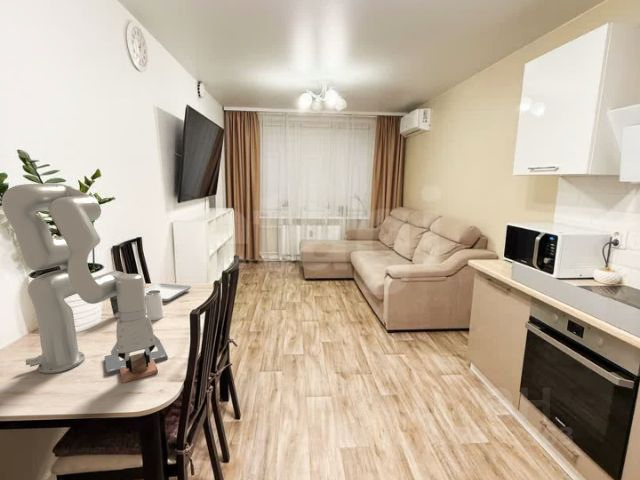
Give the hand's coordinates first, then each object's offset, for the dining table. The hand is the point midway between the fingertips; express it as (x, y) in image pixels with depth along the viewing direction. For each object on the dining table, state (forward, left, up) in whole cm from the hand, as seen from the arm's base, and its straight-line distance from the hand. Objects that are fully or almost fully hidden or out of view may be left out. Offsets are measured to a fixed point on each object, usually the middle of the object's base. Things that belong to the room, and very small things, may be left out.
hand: (138, 367), depth 111 cm
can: (+13, +45, -2) cm, 47 cm away
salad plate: (+22, +75, -3) cm, 78 cm away
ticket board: (+1, +10, -2) cm, 10 cm away
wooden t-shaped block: (0, 0, -2) cm, 2 cm away
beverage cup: (0, +56, -2) cm, 56 cm away
